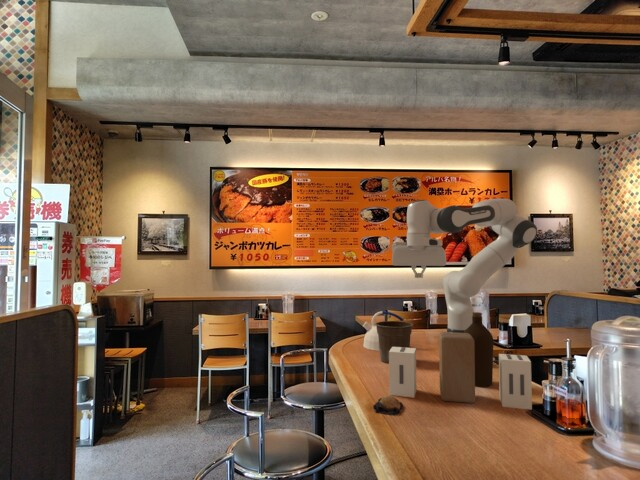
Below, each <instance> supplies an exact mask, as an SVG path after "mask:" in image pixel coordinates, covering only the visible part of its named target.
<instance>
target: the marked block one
mask: <svg viewBox="0 0 640 480" xmlns="http://www.w3.org/2000/svg"><path fill="white" fill-rule="evenodd" d="M388 391H389V392H388V395H389V396H393V397H394V396H395V397H405V398H415V397H416V392H417V348H416V347H410V348H404V347H392V348H391V349H390V351H389V363H388Z"/></svg>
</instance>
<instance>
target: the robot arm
mask: <svg viewBox="0 0 640 480" xmlns="http://www.w3.org/2000/svg"><path fill="white" fill-rule="evenodd" d="M517 209H518V208H517V205H516V203H515V202H514V201H513V200H511V199H509V198H489V199H484V200H481V201H477V202H476V203H474V204H473V205H472V207H469V208H464V207H461V206H458V205H450V206H449V205H448V206H446V207H442V208H438V207H436V206H434V205H433V204H432V203H430V202H429V200H427V199H419V200H414V201H410V202H409V204H408V206H407V211H406V224H407V225H406V226H407V231H406V241H400V242H399V241H397V242H394V243H393V244H392V245H391V253H392V256H391V258H392V259H391V263H392V266H397V267H398V266H400V267H401V266H405V267H406V266H409V267H411V270H412V272H413V273H414V279H423V278H424V273H425V271H426V270H427V267H444V266H446V265H447V255H446V251H445V249H444V248H443V241H442V240H440V239H437V238H435V237H431V234H434V235H437V234H439V235H441V234H450V233H451V234H452V233H453V234H454V233H455V234H456V233H459V232H461V231H462V230H464V229H465V228H467V226H471V225H476V226H477V227H488V228H489V229H490V230H491V231H493V232H495V233H496V234H497V235H498V237H497V238H496V239H495V240H494V241H492V242H490V243H489V244H487V245H486V246H485V247H484V248H482V250H480V251H479V252H477V254H475V255H474V256H473V257H471V259H470V261H469V262H468V263H467V264H466V265H465V266H464V267H463V268H462V269H460V270H452V271H449V272H447V273H446V274H444V276H443V278H442V282H441V284H442V287H443V291H444V296H445V297H444V298H445V303H446V308H447V327H446V332H454V333H464V331H465V330H466V329H467V328H468V327H469V326H470V325H471V324H472V316H473V314H472V313H473V312H475V310H474V307H473V305H472V299H471V297H474V296H476V295H478V294H479V292H480V291H481V289H482V287H483V286H484V285H485V284H486V282H487V281H488V280H490V278H491V277H492V276H493V275H494V274H496V273H497V272H498V271H499V270H501V269H502V268H503V267H504V266H505V265H507V264H508V263H509V262H510V261H511V260H512V259H513V258H514V257H515V255H516V254H517V253H518V252H519V249H520V248H523V247H525V246H527V245H529V244H530V243H532V242H533V241H534V240H535V239H536V237H537V233H538V227H537V225H536V224H535V223H534V222H532V221H531V220H530V219H526V218H525V217H523V216H522V215H521V214H517V212H518V210H517ZM417 266H418V267H420V266H421V269H422V270H421V271H420V272H418V273H417V270H416V269H417ZM495 361H496V358H495V357H494V356H493V362H495Z"/></svg>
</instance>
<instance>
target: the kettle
mask: <svg viewBox="0 0 640 480" xmlns="http://www.w3.org/2000/svg"><path fill="white" fill-rule="evenodd" d="M379 315H389V316H392V317H394V318H396V319H397V320H398V321H403V322H404V318H402V317H401V316H399V315H397V314H396V313H394V312H391V311H385V310H382V311H377V312H376V313H375V314H373V316H372V318H371V324H370V323H369V322H368V321H365V322H364V323H363V325H362V327H363V328H364V329H365V330H366V333H365V335H364V337H363V338H364V339H363V348H365V349H367V350H369V351H378V352H380V347H379V338H378V333H377V327H376V325H375V323H376V318H377V317H378V316H379Z"/></svg>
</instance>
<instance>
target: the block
mask: <svg viewBox="0 0 640 480" xmlns="http://www.w3.org/2000/svg"><path fill="white" fill-rule="evenodd" d="M438 336H439V337H438V338H439V340H438V342H439V343H438V347H439V349H438V350H439V351H438V352H439V392H440V398H441V400H442V401H444V402H452V403H453V402H454V403H455V402H456V403H464V404H465V403H466V404H473V403H475V401H476V386H475V354H474V339H473V338H472V336H471V335H470V334H469V333H454V332H447V331H441V332H440V333H439V335H438Z"/></svg>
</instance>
